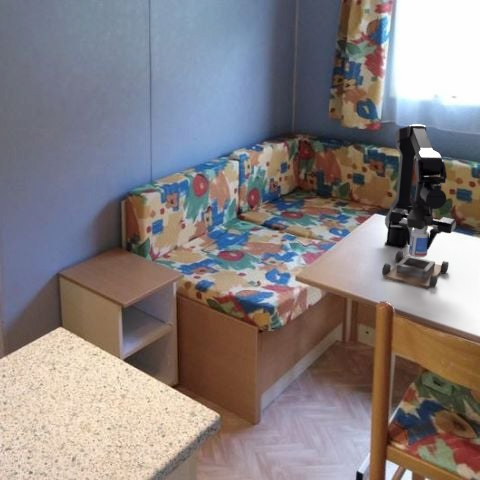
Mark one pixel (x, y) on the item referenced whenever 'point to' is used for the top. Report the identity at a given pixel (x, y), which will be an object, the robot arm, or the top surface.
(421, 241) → the pill bottle
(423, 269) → the chassis
